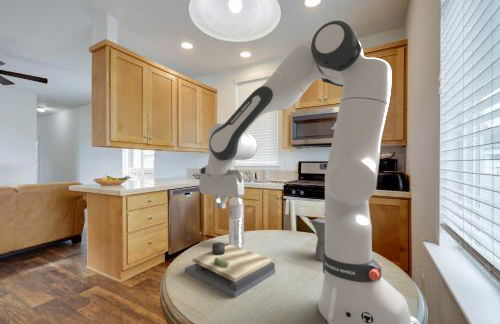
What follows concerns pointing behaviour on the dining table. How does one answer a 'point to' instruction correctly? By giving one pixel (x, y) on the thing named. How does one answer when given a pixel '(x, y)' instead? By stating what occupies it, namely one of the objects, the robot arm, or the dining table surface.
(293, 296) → the dining table surface
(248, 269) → the plate
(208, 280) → the base
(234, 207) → the water bottle
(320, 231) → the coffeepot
